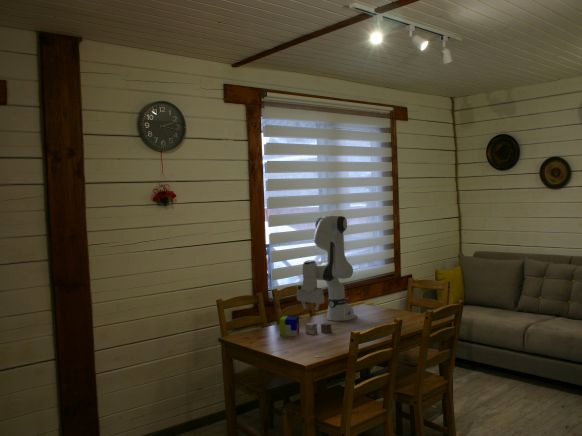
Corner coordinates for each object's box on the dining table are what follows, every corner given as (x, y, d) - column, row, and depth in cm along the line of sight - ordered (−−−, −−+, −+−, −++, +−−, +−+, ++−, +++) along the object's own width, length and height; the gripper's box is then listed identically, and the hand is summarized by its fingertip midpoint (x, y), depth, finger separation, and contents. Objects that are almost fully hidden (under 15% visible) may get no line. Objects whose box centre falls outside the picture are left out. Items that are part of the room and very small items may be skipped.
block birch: (311, 331, 324) (311, 322, 323) (317, 332, 320) (317, 323, 320) (305, 333, 320) (305, 324, 320) (311, 334, 317) (311, 325, 316)
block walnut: (325, 330, 324) (325, 322, 324) (331, 331, 321) (331, 323, 321) (321, 332, 321) (321, 324, 321) (326, 333, 318) (326, 325, 318)
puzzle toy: (296, 336, 313) (295, 319, 313) (280, 335, 315) (279, 319, 315) (299, 332, 323) (298, 316, 323) (283, 331, 325) (283, 315, 325)
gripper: (326, 287, 315) (326, 310, 315) (301, 285, 329) (302, 306, 329) (319, 289, 310) (320, 312, 310) (294, 286, 324) (295, 308, 324)
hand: (310, 309), depth 320 cm, fingers open, 8 cm apart
